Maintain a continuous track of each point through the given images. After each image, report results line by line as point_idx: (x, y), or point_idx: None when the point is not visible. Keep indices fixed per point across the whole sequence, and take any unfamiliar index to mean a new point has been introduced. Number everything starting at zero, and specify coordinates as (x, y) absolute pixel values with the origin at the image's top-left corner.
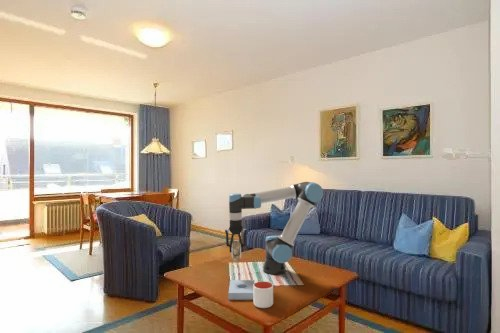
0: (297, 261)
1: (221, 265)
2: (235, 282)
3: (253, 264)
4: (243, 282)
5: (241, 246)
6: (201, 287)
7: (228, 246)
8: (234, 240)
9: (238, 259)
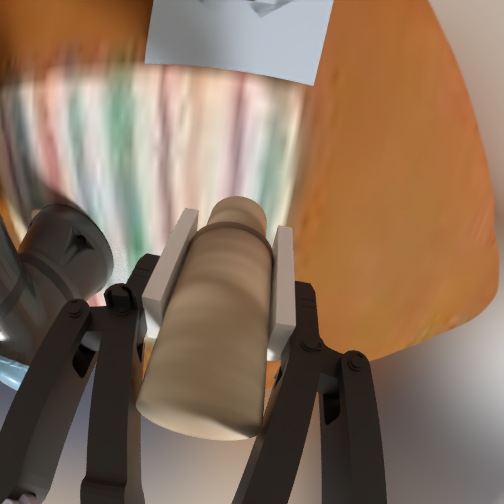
0: None
1: None
2: (282, 36)
3: None
4: (223, 26)
5: (126, 297)
6: (461, 126)
7: (335, 351)
8: (228, 430)
9: (218, 206)
